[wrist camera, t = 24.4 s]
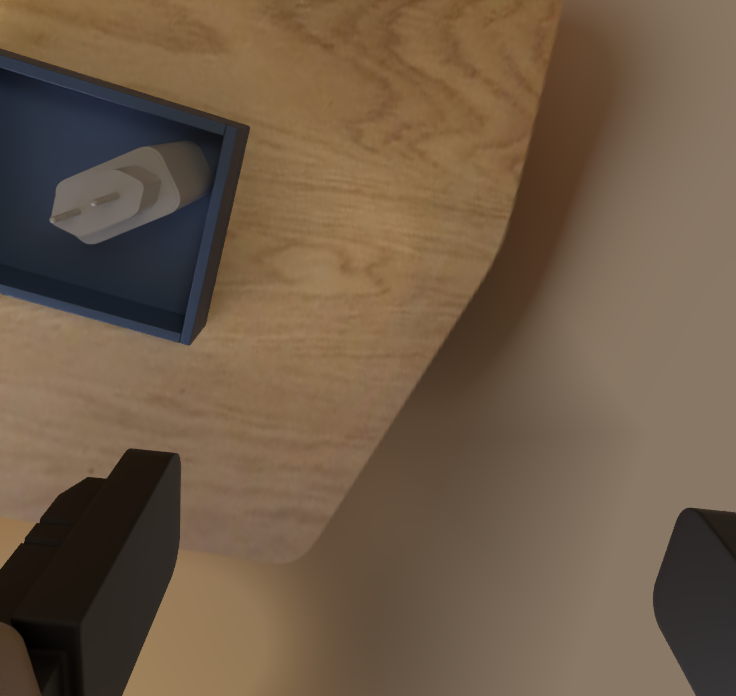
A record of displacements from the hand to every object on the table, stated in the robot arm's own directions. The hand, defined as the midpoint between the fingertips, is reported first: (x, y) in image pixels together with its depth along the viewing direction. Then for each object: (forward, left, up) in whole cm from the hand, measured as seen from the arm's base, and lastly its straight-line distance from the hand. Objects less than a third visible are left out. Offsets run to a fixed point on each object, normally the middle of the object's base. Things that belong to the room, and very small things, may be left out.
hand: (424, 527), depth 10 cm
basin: (+16, +3, -30) cm, 34 cm away
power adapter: (+13, +1, -29) cm, 32 cm away
